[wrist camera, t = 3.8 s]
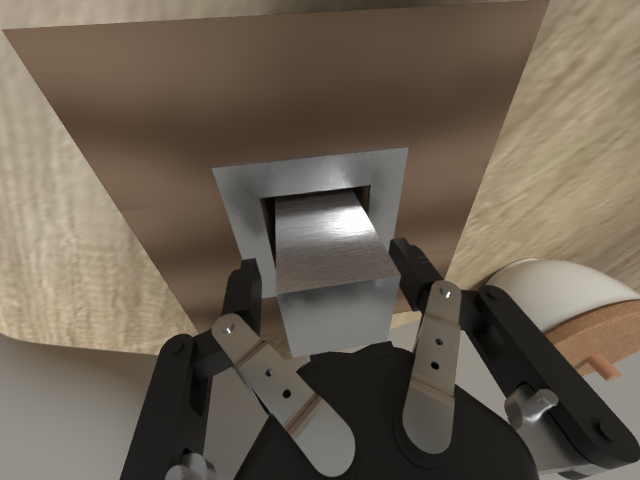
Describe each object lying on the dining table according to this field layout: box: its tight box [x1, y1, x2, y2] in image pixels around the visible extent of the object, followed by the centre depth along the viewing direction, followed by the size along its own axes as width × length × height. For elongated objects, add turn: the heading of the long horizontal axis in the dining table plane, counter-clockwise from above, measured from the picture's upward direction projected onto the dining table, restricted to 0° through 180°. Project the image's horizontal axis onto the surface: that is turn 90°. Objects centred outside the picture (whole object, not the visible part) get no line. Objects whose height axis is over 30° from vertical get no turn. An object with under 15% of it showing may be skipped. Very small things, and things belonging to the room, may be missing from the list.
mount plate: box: [2, 0, 550, 336], centre depth 18 cm, size 22×22×3 cm
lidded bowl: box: [485, 258, 640, 381], centre depth 25 cm, size 13×13×11 cm
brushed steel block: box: [275, 187, 401, 358], centre depth 15 cm, size 5×5×10 cm
